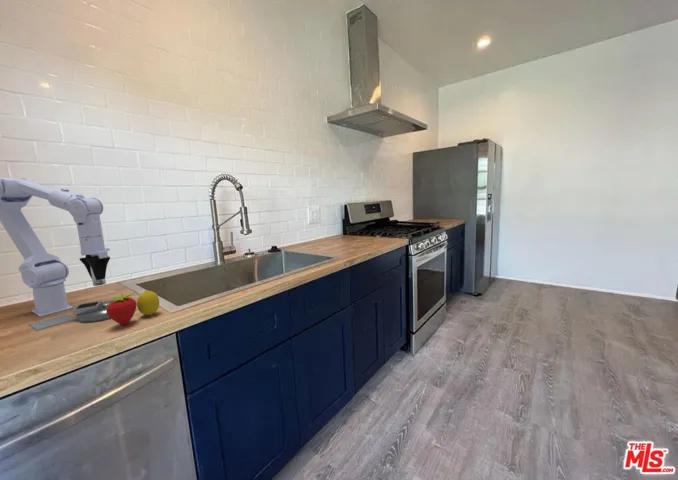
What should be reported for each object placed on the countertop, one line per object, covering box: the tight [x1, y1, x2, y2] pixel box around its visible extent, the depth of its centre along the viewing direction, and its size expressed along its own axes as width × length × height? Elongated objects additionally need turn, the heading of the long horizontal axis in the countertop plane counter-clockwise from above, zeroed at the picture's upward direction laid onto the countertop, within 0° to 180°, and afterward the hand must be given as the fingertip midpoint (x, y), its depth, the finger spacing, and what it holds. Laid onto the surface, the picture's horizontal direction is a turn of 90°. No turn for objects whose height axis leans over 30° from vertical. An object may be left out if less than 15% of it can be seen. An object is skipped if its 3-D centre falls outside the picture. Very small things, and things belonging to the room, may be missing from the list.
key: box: [90, 266, 107, 287], centre depth 92 cm, size 3×3×7 cm
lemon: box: [136, 289, 160, 317], centre depth 85 cm, size 6×6×8 cm
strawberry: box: [106, 290, 137, 327], centre depth 79 cm, size 6×8×10 cm
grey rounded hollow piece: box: [71, 299, 114, 324], centre depth 89 cm, size 14×14×4 cm
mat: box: [28, 314, 75, 332], centre depth 84 cm, size 8×8×1 cm
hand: (98, 278), depth 92 cm, fingers closed on key, 3 cm apart
